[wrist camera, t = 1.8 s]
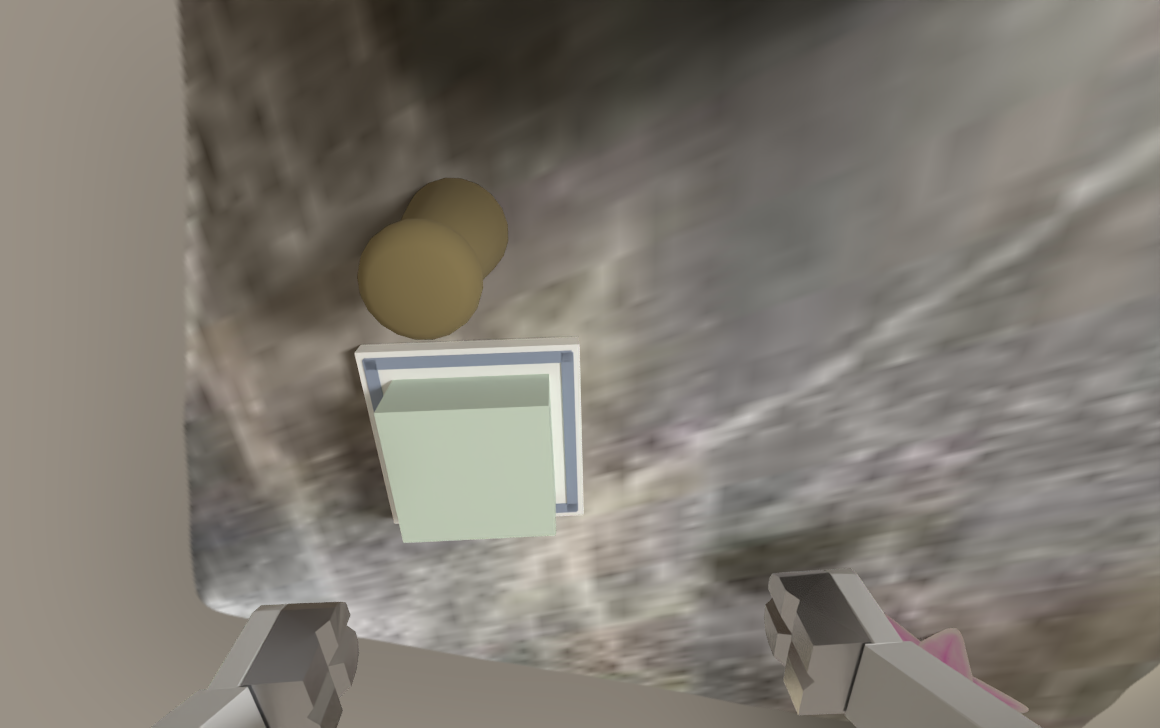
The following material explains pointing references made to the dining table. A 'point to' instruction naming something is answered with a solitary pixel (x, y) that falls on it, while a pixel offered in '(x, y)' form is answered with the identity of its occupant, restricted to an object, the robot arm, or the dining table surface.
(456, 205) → the cork
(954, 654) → the lily
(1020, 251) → the dining table surface
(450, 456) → the butter dish
